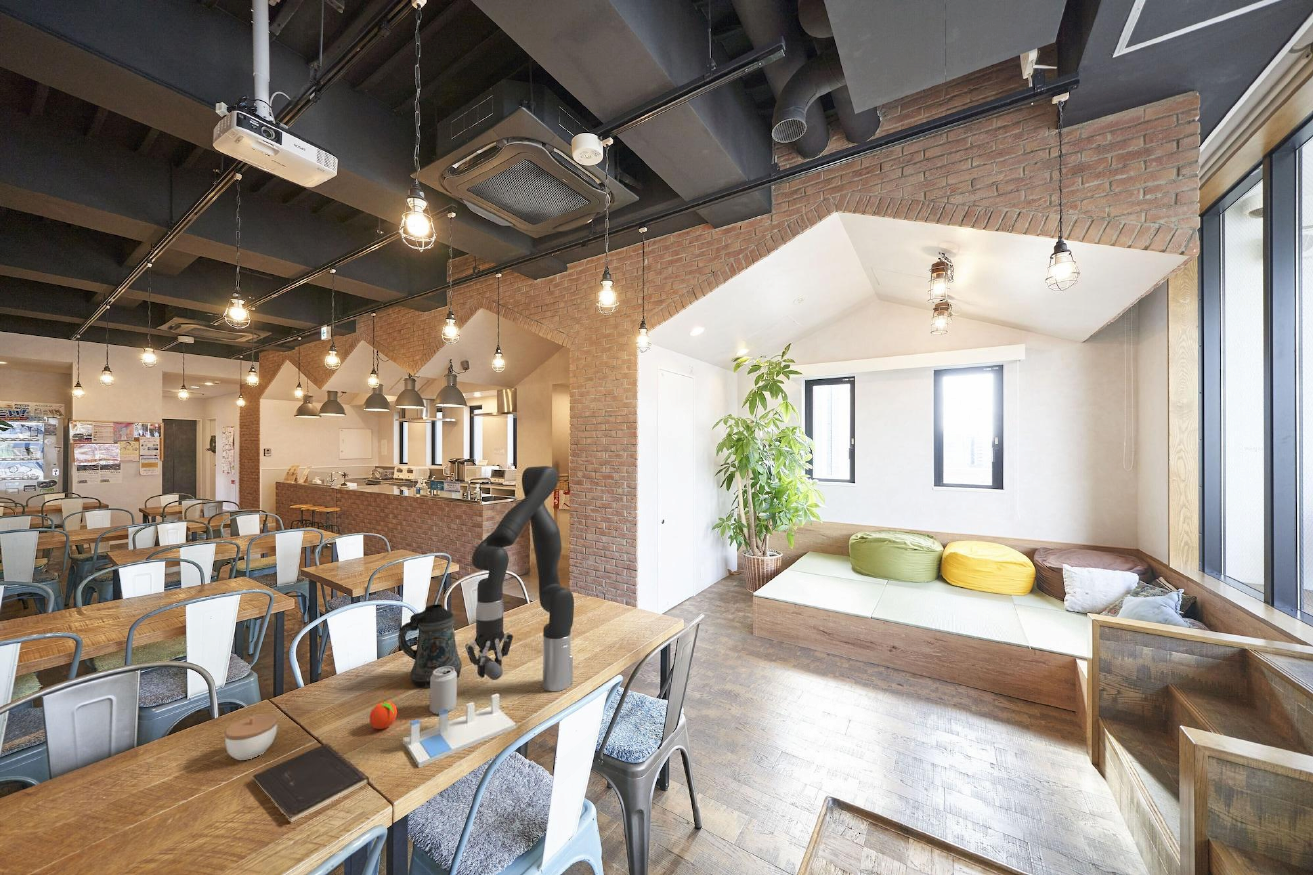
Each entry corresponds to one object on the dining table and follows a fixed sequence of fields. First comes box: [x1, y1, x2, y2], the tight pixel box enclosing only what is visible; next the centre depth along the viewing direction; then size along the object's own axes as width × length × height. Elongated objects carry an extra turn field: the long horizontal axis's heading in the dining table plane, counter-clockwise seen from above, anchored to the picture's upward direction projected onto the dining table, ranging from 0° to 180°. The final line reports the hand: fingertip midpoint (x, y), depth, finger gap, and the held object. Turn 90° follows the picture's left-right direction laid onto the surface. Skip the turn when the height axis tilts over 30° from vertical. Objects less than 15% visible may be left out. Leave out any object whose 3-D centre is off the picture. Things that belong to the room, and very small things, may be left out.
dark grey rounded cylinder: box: [484, 655, 504, 681], centre depth 140 cm, size 12×4×4 cm, turn 42°
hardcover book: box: [252, 743, 370, 823], centre depth 116 cm, size 16×23×2 cm
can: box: [429, 666, 458, 715], centre depth 149 cm, size 8×8×12 cm
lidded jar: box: [224, 712, 279, 760], centre depth 127 cm, size 11×11×9 cm
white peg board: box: [402, 693, 517, 768], centre depth 135 cm, size 26×14×7 cm, turn 132°
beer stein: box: [397, 603, 463, 689], centre depth 169 cm, size 16×19×25 cm
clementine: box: [369, 700, 398, 730], centre depth 139 cm, size 8×7×7 cm
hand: (489, 674), depth 140 cm, fingers closed on dark grey rounded cylinder, 4 cm apart
